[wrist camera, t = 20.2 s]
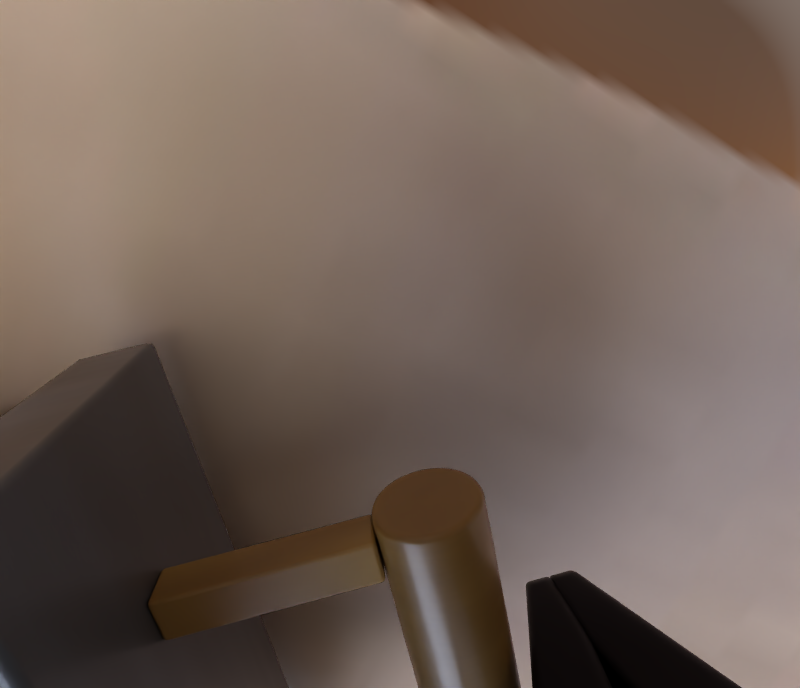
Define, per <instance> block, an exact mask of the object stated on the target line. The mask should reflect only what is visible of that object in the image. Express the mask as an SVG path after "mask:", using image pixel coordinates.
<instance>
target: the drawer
mask: <svg viewBox="0 0 800 688" xmlns="http://www.w3.org/2000/svg"><path fill="white" fill-rule="evenodd" d="M384 567H385V570H386V574H387V577H388V581H389V585H390V588H391V592H392V595H393V599H394V602H395V606H396V610H397V613H398V617H399V620H400V624H401V627H402V631H403V635H404V638H405V642H406V645H407V649H408V652H409V656H410V660H411V663H412V667H413V670H414V674H415V677H416V681H417V685H418V688H521V686H520V680H519V675H518V670H517V664H516V659H515V654H514V649H513V643H512V638H511V633H510V628H509V622H508V617H507V612H506V607H505V601H504V596H503V591H502V586H501V580H500V575H499V570H498V564H497V559H496V554H495V549H494V543H493V538H492V533H491V528H490V522H489V517H488V512H487V507H486V501H485V496H484V492H483V490H482V488H481V487H480V485H479V484H478V483H477V481H476V480H475V479H474V478H472V477H471V476H470V475H468V474H466V473H464V472H461V471H458V470H454V469H448V468H430V469H424V470H419V471H415V472H412V473H409V474H407V475H404V476H402V477H400V478H398V479H396V480H395V481H393V482H392V483H390V484H389V485H388V486H386V487H385V488H384V489H383V490H382V491H381V492H380V494H379V495H378V496H377V498H376V500H375V502H374V504H373V508H372V514H371V515H366V516H362V517H359V518H355V519H351V520H347V521H343V522H340V523H336V524H332V525H328V526H324V527H321V528H317V529H313V530H309V531H305V532H302V533H298V534H294V535H290V536H286V537H283V538H279V539H275V540H271V541H267V542H264V543H260V544H256V545H252V546H248V547H245V548H241V549H237V550H234V547H233V545H232V542H231V540H230V537H229V535H228V532H227V530H226V527H225V525H224V522H223V519H222V517H221V514H220V512H219V509H218V507H217V504H216V502H215V499H214V497H213V494H212V492H211V489H210V487H209V484H208V481H207V479H206V476H205V474H204V471H203V469H202V466H201V464H200V461H199V459H198V456H197V454H196V451H195V448H194V446H193V443H192V441H191V438H190V436H189V433H188V431H187V428H186V426H185V423H184V421H183V418H182V416H181V413H180V410H179V408H178V405H177V403H176V400H175V398H174V395H173V393H172V390H171V388H170V385H169V383H168V380H167V378H166V375H165V372H164V370H163V367H162V365H161V362H160V360H159V357H158V355H157V352H156V350H155V347H154V346H153V345H152V344H142V345H138V346H134V347H130V348H126V349H121V350H117V351H113V352H109V353H105V354H101V355H96V356H92V357H88V358H84V359H80V360H78V361H77V362H75V363H74V364H73V365H71V366H70V367H69V368H67V369H66V370H64V371H63V372H62V373H60V374H59V375H58V376H56V377H55V378H54V379H52V380H51V381H49V382H48V383H47V384H45V385H44V386H43V387H41V388H40V389H38V390H37V391H36V392H34V393H33V394H32V395H30V396H29V397H28V398H26V399H25V400H23V401H22V402H21V403H19V404H18V405H17V406H15V407H14V408H13V409H11V410H10V411H8V412H7V413H6V414H4V415H3V416H2V417H0V688H289V687H288V684H287V682H286V679H285V677H284V674H283V672H282V669H281V667H280V664H279V661H278V659H277V656H276V654H275V651H274V649H273V646H272V644H271V641H270V639H269V636H268V634H267V631H266V629H265V626H264V623H263V621H262V618H261V616H260V615H264V614H267V613H271V612H275V611H278V610H282V609H286V608H289V607H293V606H297V605H301V604H304V603H308V602H312V601H315V600H319V599H323V598H326V597H330V596H334V595H337V594H341V593H345V592H349V591H352V590H356V589H360V588H363V587H367V586H371V585H374V584H378V583H382V582H383V581H384V580H385V570H384Z"/></svg>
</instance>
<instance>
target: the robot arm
mask: <svg viewBox="0 0 800 688" xmlns="http://www.w3.org/2000/svg"><path fill="white" fill-rule="evenodd" d="M526 596H527V611H528V626H529V641H530V656H531V671H532V686H533V688H741V687H740V686H739V685H737V684H736V683H734V682H733V681H731V680H730V679H729V678H727V677H726V676H724V675H723V674H721V673H720V672H718V671H717V670H716V669H714V668H713V667H711V666H710V665H708V664H707V663H706V662H704V661H703V660H701V659H700V658H698V657H697V656H696V655H694V654H693V653H691V652H690V651H688V650H687V649H686V648H684V647H683V646H681V645H680V644H678V643H677V642H676V641H674V640H673V639H671V638H670V637H668V636H667V635H666V634H664V633H663V632H661V631H660V630H658V629H657V628H655V627H654V626H653V625H651V624H650V623H648V622H647V621H645V620H644V619H643V618H641V617H640V616H638V615H637V614H635V613H634V612H633V611H631V610H630V609H628V608H627V607H625V606H624V605H623V604H621V603H620V602H618V601H617V600H615V599H614V598H613V597H611V596H610V595H608V594H607V593H605V592H604V591H603V590H601V589H600V588H598V587H597V586H595V585H594V584H592V583H591V582H590V581H588V580H587V579H585V578H584V577H582V576H581V575H580V574H578V573H577V572H574V571H567V572H563V573H559V574H556V575H552V576H551V577H550V578H549V577H544V578H541V579H537V580H533V581H530V582H528V583H527V584H526Z"/></svg>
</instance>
